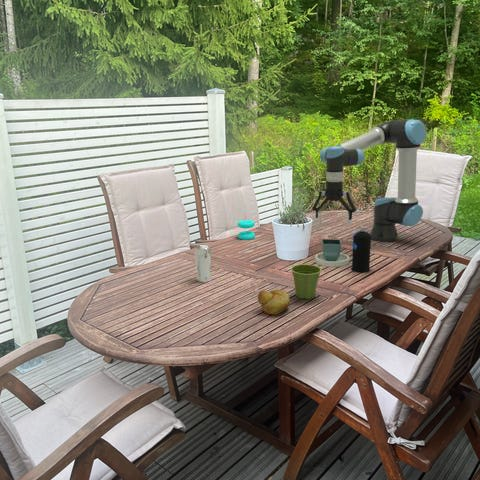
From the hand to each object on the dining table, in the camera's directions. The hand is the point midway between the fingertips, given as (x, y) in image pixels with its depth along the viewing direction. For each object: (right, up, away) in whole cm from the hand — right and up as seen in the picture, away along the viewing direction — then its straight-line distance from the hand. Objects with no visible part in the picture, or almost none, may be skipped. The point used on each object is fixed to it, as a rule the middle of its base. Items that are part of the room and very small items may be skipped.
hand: (333, 225), depth 207 cm
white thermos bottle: (-60, -24, -15) cm, 66 cm away
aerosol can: (+11, -20, -8) cm, 24 cm away
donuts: (-40, -6, +49) cm, 64 cm away
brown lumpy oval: (-31, -33, -46) cm, 64 cm away
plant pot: (-18, -29, -35) cm, 49 cm away
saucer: (0, -17, +5) cm, 18 cm away
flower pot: (0, -16, +5) cm, 17 cm away
